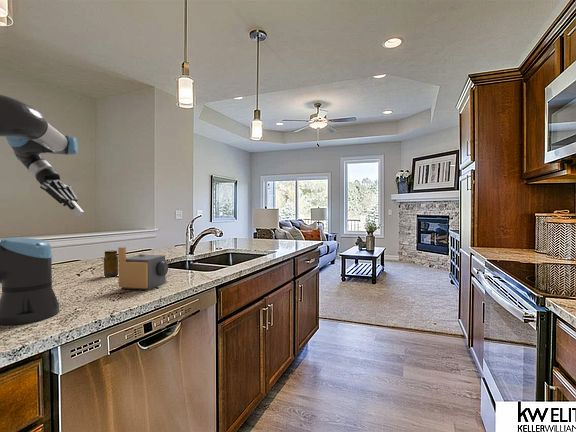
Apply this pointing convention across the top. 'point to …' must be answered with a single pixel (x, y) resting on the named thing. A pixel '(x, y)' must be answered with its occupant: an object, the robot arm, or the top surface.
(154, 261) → the housing
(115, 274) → the condiment
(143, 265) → the door
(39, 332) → the top surface
